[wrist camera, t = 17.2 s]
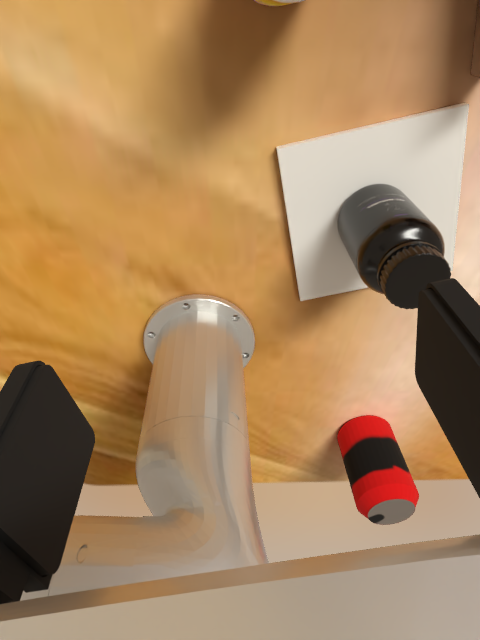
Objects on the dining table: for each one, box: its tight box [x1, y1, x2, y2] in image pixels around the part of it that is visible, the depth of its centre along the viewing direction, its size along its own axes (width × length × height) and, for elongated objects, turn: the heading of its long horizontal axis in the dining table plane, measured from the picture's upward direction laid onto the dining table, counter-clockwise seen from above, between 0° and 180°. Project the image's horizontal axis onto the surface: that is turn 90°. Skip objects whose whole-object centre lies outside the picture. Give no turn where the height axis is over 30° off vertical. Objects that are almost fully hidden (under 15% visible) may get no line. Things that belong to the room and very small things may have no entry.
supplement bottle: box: [337, 184, 451, 309], centre depth 35 cm, size 7×7×12 cm
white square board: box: [276, 103, 469, 301], centre depth 40 cm, size 16×16×1 cm
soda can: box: [337, 415, 419, 525], centre depth 55 cm, size 8×8×12 cm
